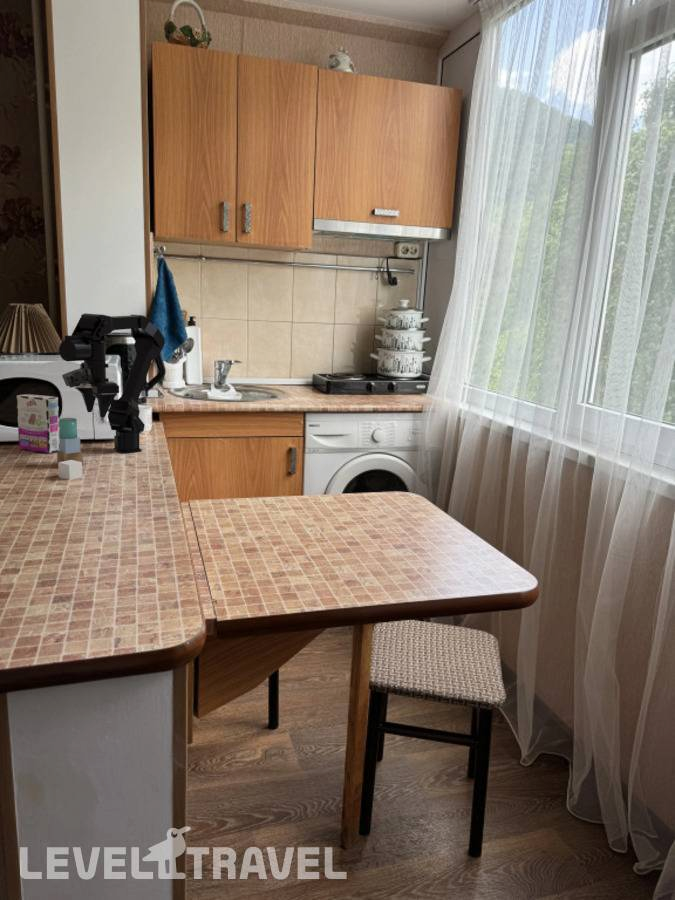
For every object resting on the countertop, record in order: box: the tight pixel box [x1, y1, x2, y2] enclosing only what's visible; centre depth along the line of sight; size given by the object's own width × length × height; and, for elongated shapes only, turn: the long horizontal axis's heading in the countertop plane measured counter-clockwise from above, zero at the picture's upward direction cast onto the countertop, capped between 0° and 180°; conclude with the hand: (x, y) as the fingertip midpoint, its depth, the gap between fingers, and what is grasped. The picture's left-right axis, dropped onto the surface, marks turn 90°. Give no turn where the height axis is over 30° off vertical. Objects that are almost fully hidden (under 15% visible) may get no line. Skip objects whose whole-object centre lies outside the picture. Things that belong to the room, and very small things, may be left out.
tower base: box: [56, 450, 84, 467], centre depth 177 cm, size 5×5×4 cm
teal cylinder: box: [59, 417, 78, 439], centre depth 175 cm, size 4×4×5 cm
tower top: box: [59, 436, 81, 454], centre depth 176 cm, size 4×4×4 cm
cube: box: [57, 460, 83, 481], centre depth 166 cm, size 4×4×4 cm
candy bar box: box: [16, 393, 60, 454], centre depth 190 cm, size 11×5×16 cm, turn 73°
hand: (96, 414), depth 183 cm, fingers open, 9 cm apart
